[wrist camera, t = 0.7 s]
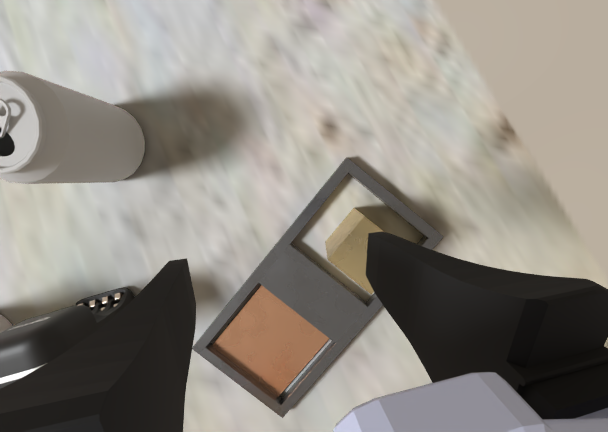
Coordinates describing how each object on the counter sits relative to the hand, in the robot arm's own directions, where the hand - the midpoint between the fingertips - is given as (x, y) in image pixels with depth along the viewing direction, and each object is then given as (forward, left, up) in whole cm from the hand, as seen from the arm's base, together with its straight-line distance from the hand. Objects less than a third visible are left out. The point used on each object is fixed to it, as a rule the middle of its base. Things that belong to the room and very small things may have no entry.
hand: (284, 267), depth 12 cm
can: (+19, +7, -20) cm, 28 cm away
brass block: (-6, -1, -19) cm, 20 cm away
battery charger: (+10, +21, -20) cm, 30 cm away
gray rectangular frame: (-6, +6, -19) cm, 21 cm away
